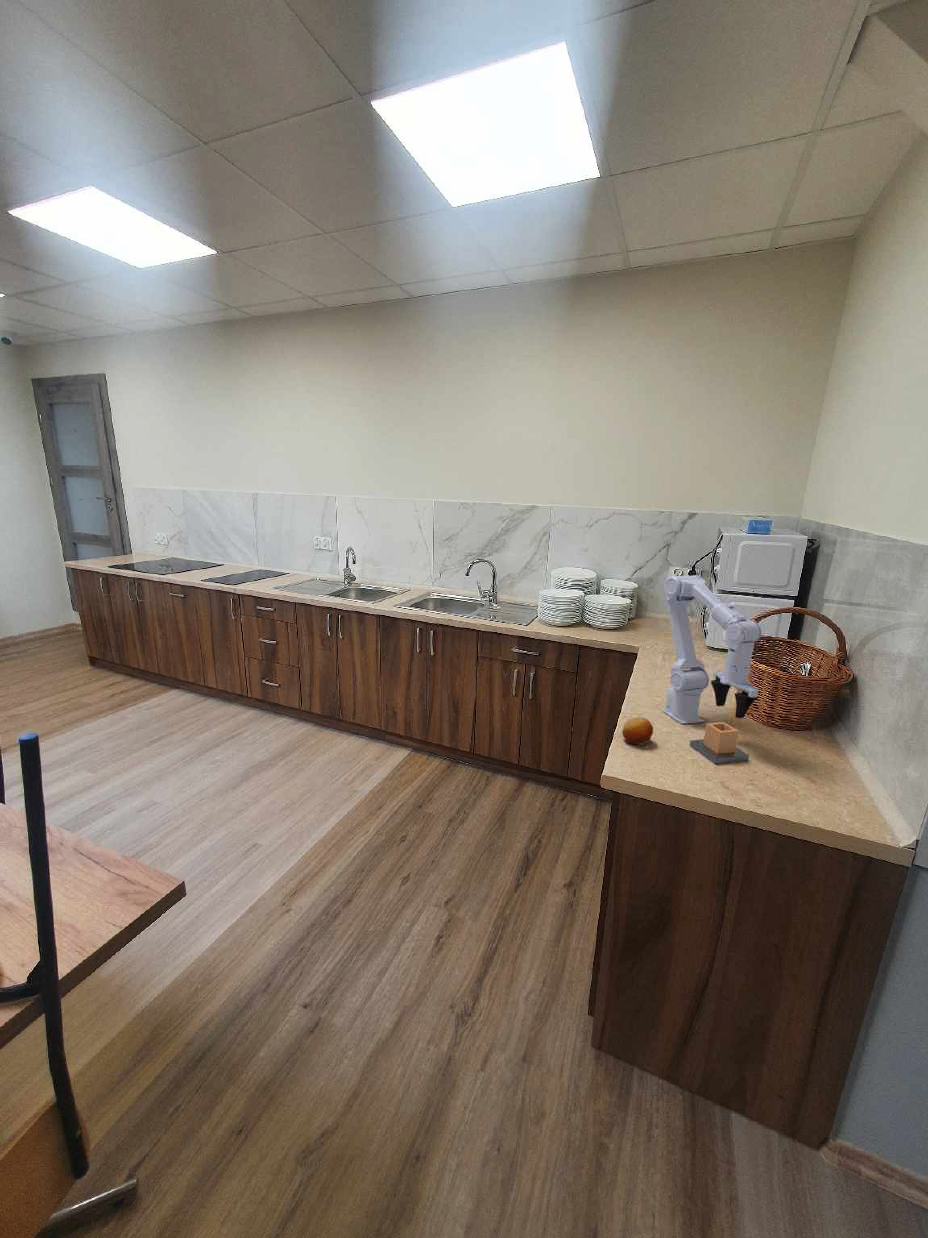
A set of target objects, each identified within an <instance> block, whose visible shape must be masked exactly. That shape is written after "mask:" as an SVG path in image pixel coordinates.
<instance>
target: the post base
mask: <svg viewBox="0 0 928 1238" xmlns="http://www.w3.org/2000/svg"><path fill="white" fill-rule="evenodd" d="M721 731H722V730H721ZM703 742H704V738H703V739H693V740H690V741H689V746H690V747H691V748H692V749H694V750H695V751H696V752H698V753H699V755H702V756H703V757H705V758H706V759H707V760H709V761H710V762H711V763H713V764H714V765H720V764H721V765H722V764H730V763H731V764H732V763H738V762H748V761H749V758H750V755H749V754H747V753H746V752H745V751H744V750H741V749H740V748H739V747H737V746H736V748H735V752H729V753H720V754H717V753H715V752H714V751H713V750H711V749H710V748H708V747H707V746H705V745H704V744H703Z"/></svg>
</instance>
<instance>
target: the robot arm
mask: <svg viewBox="0 0 928 1238" xmlns="http://www.w3.org/2000/svg"><path fill="white" fill-rule="evenodd" d="M663 592H664V596H665V601H666V608H667V613H668V618H669V624H670V629H671V634H672V640H673V645H674V652H675V655H676V661H675V663H674V664H673V665H672V666H671V667H670V683H671V687H670V688H669V690H668V691H667V695H666V704H665V709H662V712H663V713H664V714H666V715H668V716H669V717H671V718H672V719H673V720H675V722H676V721H677V722H678V723H679V724H682V725H684V724H695V723H696V724H697V723H704V719H702V718H701V717H699V716H698V715H699V708H700V701H701V696H702V693H704V689H707V688H708V687H709V684H711V687H712V689H713V693H714V697H715V698H714V699H715V705H716V706H717V707H724V706H725V705H726V701H727V697H728V693H729V691H730V689H731V687H732V688H735V689H736V690H739V691H740V692H735V693H734V698H735V704H736V705H735V706H736V707H735V715H734V716H735V718H737V719H744V718H745V716H746V714H747V712H748V710H749V708H750V707H751V706H752V705H753V704H754V702H756V700H757V699H758V698H759V696H758V695H759V689H757V688H755V686H753V685H752V684H751V683H750V682H749V681H748V679H749V675H750V674H749V672H750V668H751V662H752V656H753V652H754V647H755V643H756V642H758V641H759V640H760V639H761V637H762V633H763V632H762V627H761V626H760V624H759V623H758V621H756V620H753V619H748V618H746V616H745V615H743V614H741V613H740V612H739V610H737V609H736V608H735V605H734V604H732V603H729V602H721V599H719V598H718V597H717V596H716V594H715V593H714V592H712V591H711V590H710V589H709V588H708V586H707V582H706V580H705V579H704V578H702V577H701V576H700V575H697V574H694V575H670V576H669V577H668V578H667V579H666V581H665V583H664V585H663ZM695 600H697V601H698V602H699V603H701V604H702V605H703V606H704V607H706V608H707V609H708V610H710V612H711V618H712V619H713V620H714V621H715V622H716V623H717V624H718V625H719V626H720V627H721V628H722V629H723V630H724V631H725V636H726V639H727V648H728V649H727V656H726V661H725V667H724V672H723V671H722V670H714V671H713V674H712V678H713V679H712V680H711V681H710V676H709V673H708V672H707V670H706V668H705V664H704V663H703V662H702V661H700V660H699V659H698V658H697V654H696V651H695V644H694V640H693V635H692V630H691V629H692V628H691V625H690V620H689V615H688V609H687V608H688V607H689V606H690V604H692V603H693V602H694V601H695Z"/></svg>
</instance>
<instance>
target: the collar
mask: <svg viewBox="0 0 928 1238" xmlns="http://www.w3.org/2000/svg"><path fill="white" fill-rule="evenodd" d="M721 730H722V731H721ZM738 735H739V730H738V729H736V728H734V727H732V726H731V725H730V724H728V723H725V721H719V722H710V723H709V722H708V723H706V725H705V730H704V735H703V739H704V742H703V744H704V745H705V746H707V747H708V748H710V749H711V750H713V751H714V752H715V753H717V754H720V753H729V752H735V748H736V747H737V740H738Z"/></svg>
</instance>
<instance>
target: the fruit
mask: <svg viewBox="0 0 928 1238" xmlns="http://www.w3.org/2000/svg"><path fill="white" fill-rule="evenodd" d="M621 732H622V733H621V734H622V736H623V738H624V739H625V740H626V741H627V742H628V743H629V744H632V745H637V746H638V745H639V746H642V747H644V746H645V744H646V743H648V742H649V743H652V742H651V738H652V735H653V734H654V727H653V724H652V723H651V721H650V720H649V719H648V718H646V717H642V716H641V717H640V716H637V717H633V718H630V719H627V720H626V721H625V723H624V724H623V728H622V731H621Z"/></svg>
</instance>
